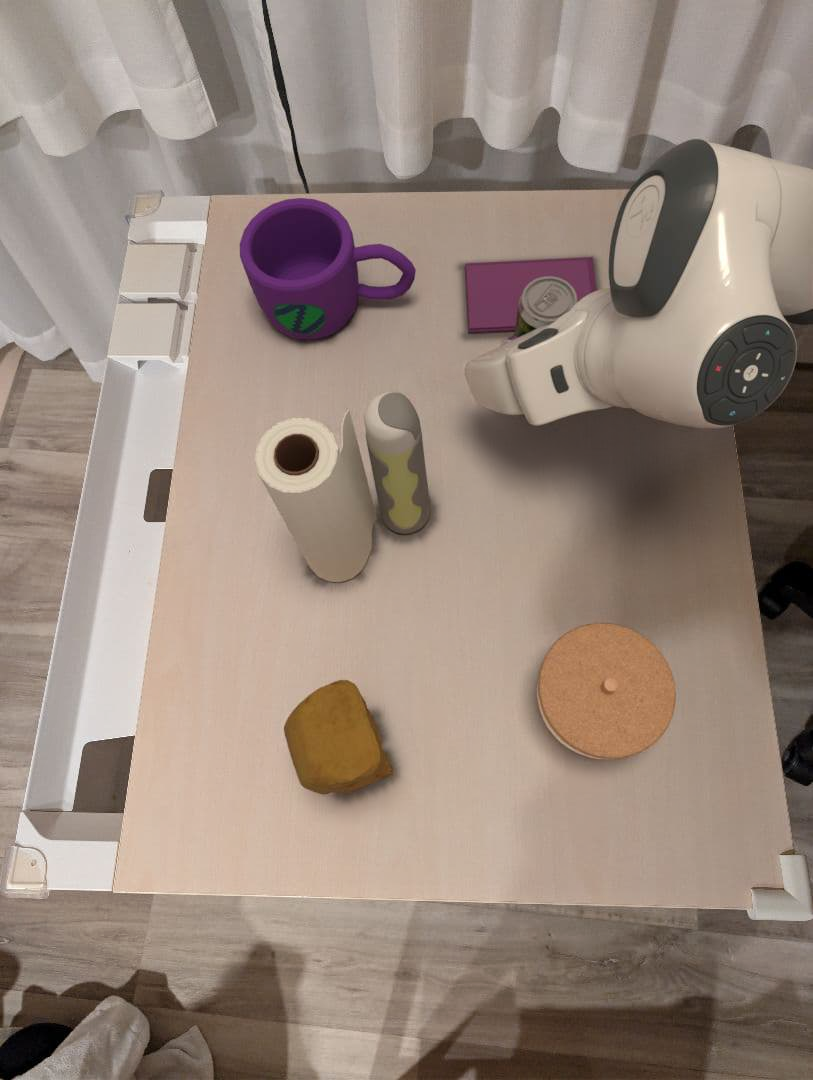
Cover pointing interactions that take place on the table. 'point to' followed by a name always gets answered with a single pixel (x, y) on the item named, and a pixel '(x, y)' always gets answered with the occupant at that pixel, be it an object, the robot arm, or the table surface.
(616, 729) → the trinket box
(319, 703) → the wooden tiki figurine
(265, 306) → the mug
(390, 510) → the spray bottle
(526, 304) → the beer can
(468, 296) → the flat purple rectangular slab
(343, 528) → the paper towel roll
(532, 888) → the table surface
